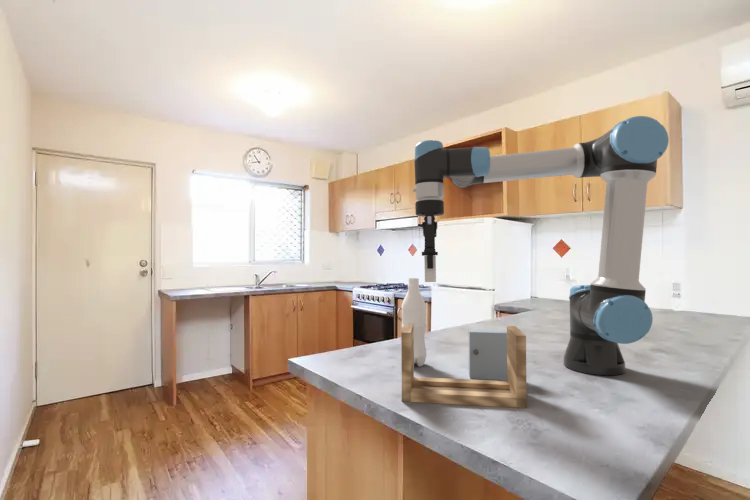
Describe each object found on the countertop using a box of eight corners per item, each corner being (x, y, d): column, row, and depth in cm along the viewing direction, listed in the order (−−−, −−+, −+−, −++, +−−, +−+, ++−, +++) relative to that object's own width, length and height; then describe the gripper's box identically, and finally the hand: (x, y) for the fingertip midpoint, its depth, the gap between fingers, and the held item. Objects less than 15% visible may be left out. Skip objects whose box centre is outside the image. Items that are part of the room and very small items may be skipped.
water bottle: (425, 368, 110) (425, 279, 110) (400, 367, 112) (399, 279, 112) (427, 362, 117) (426, 277, 117) (403, 360, 119) (402, 277, 119)
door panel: (508, 376, 103) (507, 330, 103) (511, 381, 99) (510, 333, 99) (468, 374, 105) (468, 329, 105) (470, 379, 100) (470, 332, 101)
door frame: (516, 390, 93) (515, 326, 93) (526, 408, 82) (526, 335, 82) (405, 384, 97) (405, 323, 97) (401, 401, 86) (401, 332, 86)
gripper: (417, 206, 118) (418, 277, 118) (412, 194, 93) (413, 283, 93) (443, 205, 117) (444, 277, 116) (444, 192, 92) (446, 283, 92)
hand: (430, 280), depth 105 cm, fingers open, 13 cm apart
